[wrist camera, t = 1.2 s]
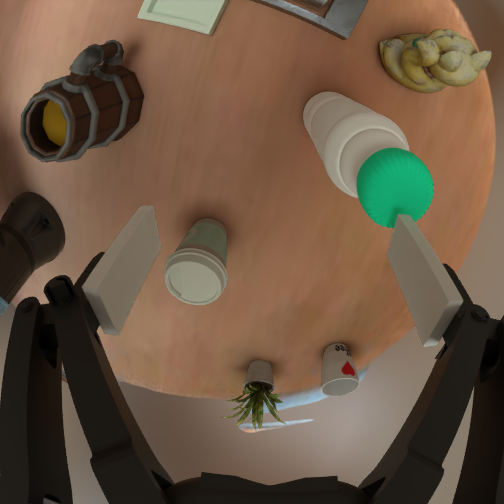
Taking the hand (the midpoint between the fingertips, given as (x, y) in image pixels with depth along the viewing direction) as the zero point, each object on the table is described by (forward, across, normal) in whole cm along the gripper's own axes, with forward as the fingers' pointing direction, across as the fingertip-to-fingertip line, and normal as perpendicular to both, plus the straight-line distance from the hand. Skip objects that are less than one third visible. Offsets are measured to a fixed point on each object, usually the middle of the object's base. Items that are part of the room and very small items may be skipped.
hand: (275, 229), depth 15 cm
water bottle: (+26, +7, +2) cm, 27 cm away
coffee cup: (+26, -10, -17) cm, 33 cm away
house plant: (+26, -3, -53) cm, 59 cm away
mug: (+26, -22, +7) cm, 35 cm away
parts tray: (+26, -10, +19) cm, 34 cm away
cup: (+26, +16, -46) cm, 56 cm away
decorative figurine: (+26, +18, +11) cm, 34 cm away
